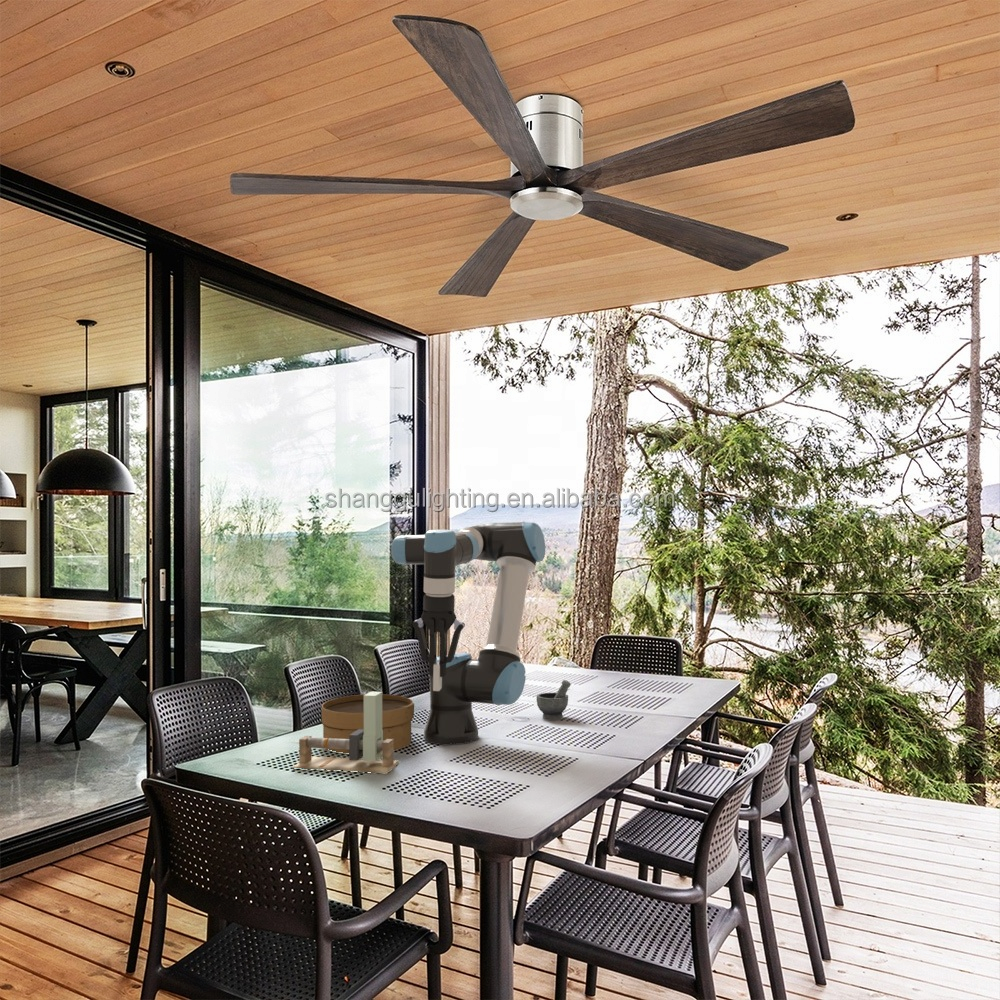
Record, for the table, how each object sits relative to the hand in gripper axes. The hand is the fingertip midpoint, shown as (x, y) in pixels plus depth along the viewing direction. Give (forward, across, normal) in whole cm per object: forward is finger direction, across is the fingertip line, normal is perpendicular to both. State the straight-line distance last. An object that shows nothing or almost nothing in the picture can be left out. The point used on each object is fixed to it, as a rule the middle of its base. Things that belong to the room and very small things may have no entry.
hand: (437, 689), depth 195 cm
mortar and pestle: (+24, -24, -55) cm, 64 cm away
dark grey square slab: (+17, +19, +3) cm, 26 cm away
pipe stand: (+20, +22, +4) cm, 30 cm away
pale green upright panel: (+17, +15, +3) cm, 23 cm away
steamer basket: (+23, +24, -19) cm, 39 cm away
